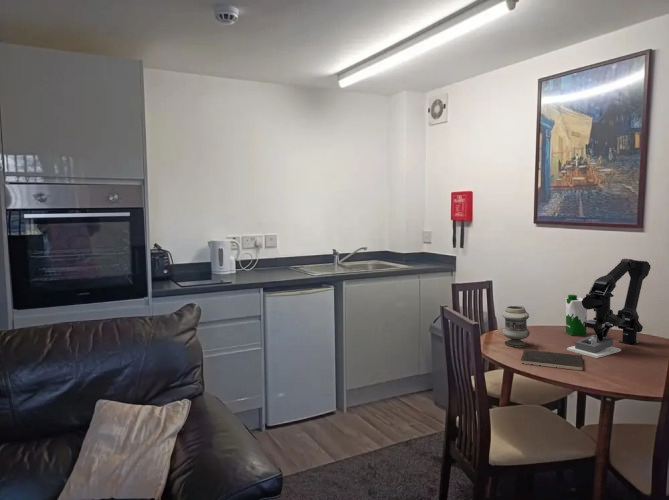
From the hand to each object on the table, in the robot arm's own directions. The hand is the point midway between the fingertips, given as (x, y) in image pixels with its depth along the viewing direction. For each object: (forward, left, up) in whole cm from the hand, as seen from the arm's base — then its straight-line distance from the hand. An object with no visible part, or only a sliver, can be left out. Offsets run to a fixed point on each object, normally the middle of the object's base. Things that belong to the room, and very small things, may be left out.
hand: (602, 340), depth 214 cm
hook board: (+6, 0, -4) cm, 7 cm away
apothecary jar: (+26, -26, -4) cm, 37 cm away
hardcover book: (+34, -1, -4) cm, 35 cm away
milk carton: (-13, -21, -4) cm, 25 cm away
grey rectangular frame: (+6, 0, -2) cm, 6 cm away
